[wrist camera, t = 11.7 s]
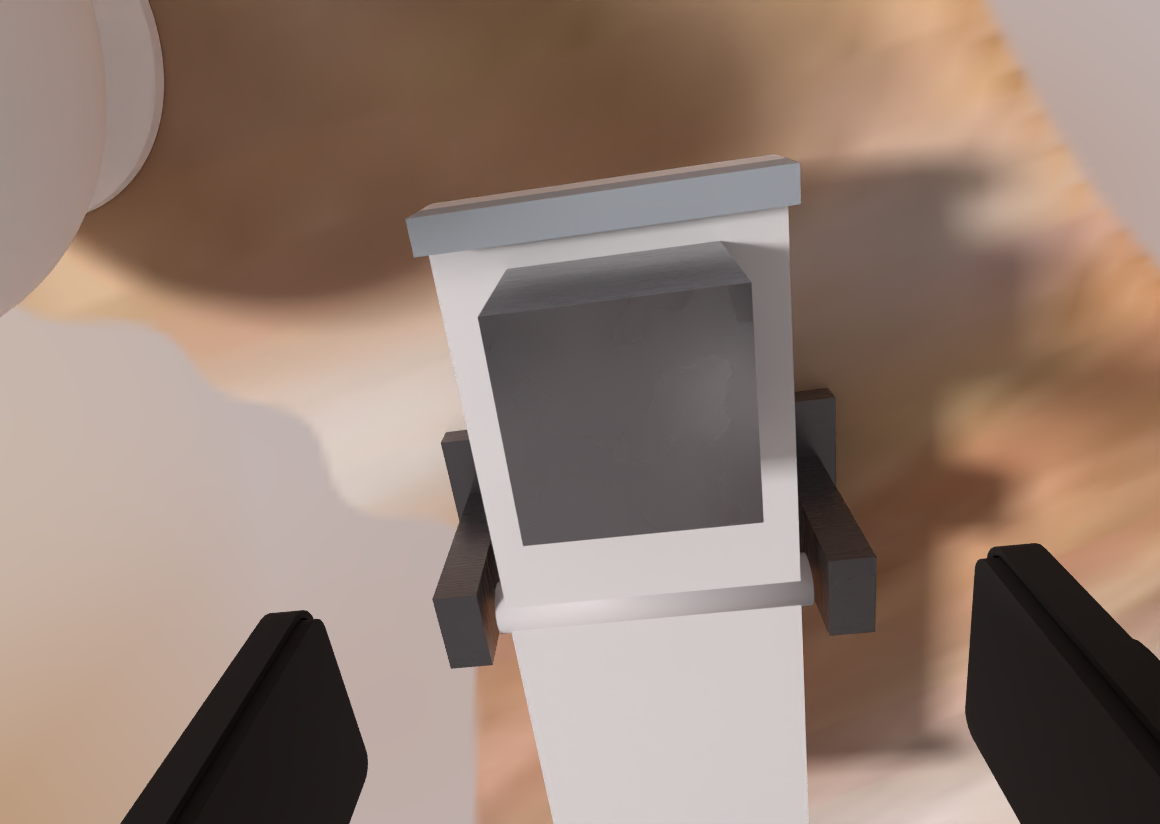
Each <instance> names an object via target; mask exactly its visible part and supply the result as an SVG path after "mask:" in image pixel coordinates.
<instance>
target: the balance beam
mask: <svg viewBox="0 0 1160 824" xmlns="http://www.w3.org/2000/svg"><path fill="white" fill-rule="evenodd" d="M799 204H801V184H800V162H797V161H794V160H791V159H788V158H785V157H782V156H779V155H777V154H771V155H764V156H757V157H750V158H743V159H736V160H729V161H722V162H716V163H709V164H702V165H695V166H688V167H681V168H674V169H667V170H660V171H653V172H646V173H639V174H633V175H626V176H619V177H612V178H605V179H598V180H591V181H584V182H577V183H570V184H563V185H556V186H549V187H543V188H536V189H529V190H522V191H515V192H508V193H501V194H494V195H487V196H480V197H473V198H466V199H459V200H453V201H446V202H439V203H432V204H429V205H428V206H426V207H424V208H423V209H421V210H419V211H418V212H416V213H414V214H413V215H411V216H409V217H408V218H406V219H405V221H406V225H407V229H408V234H409V238H410V243H411V247H412V251H413V256H414V258H415V257H422V256H429V259H430V263H431V268H432V273H433V277H434V282H435V286H436V291H437V295H438V300H439V304H440V309H441V313H442V318H443V323H444V327H445V332H446V336H447V341H448V345H449V350H450V354H451V359H452V363H453V368H454V373H455V377H456V382H457V386H458V391H459V395H460V400H461V404H462V409H463V413H464V418H465V423H466V427H467V432H468V436H469V441H470V445H471V450H472V454H473V459H474V463H475V468H476V473H477V477H478V482H479V486H480V491H481V495H482V500H483V504H484V509H485V513H486V518H487V523H488V527H489V532H490V536H491V541H492V545H493V550H494V554H495V559H496V563H497V568H498V573H499V577H500V582H498V583H497V585H496V589H495V614H496V621H497V626H498V629H499V631H500V633H501V634H504V633H512V636H513V641H514V645H515V650H516V654H517V659H518V663H519V668H520V673H521V677H522V682H523V686H524V691H525V695H526V700H527V704H528V709H529V713H530V718H531V723H532V727H533V732H534V736H535V741H536V745H537V750H538V754H539V759H540V763H541V768H542V773H543V777H544V782H545V786H546V791H547V795H548V800H549V804H550V809H551V813H552V818H553V823H554V824H809V819H808V789H807V758H806V728H805V698H804V668H803V638H802V608H801V607H802V606H812V605H813V604H814V585H813V578H812V572H811V568H810V564H809V561H808V558H807V556H806V554H805V553H804V552H801V553H800V548H799V518H798V487H797V457H796V427H795V397H794V367H793V337H792V307H791V277H790V247H789V217H788V206H791V205H799ZM715 241H720V242H721V243H722V244H723V246H724V247H725V248H726V250H727V251H728V252H729V254H730V255H731V256H732V257H733V259H734V260H735V261H736V263H737V264H738V265H739V267H740V268H741V269H742V271H743V272H744V273H745V274H746V276H747V277H748V278H749V280H750V281H751V282H752V302H753V321H754V341H755V360H756V380H757V400H758V419H759V439H760V458H761V478H762V498H763V517H764V522H763V523H753V524H743V525H733V526H723V527H713V528H703V529H693V530H682V531H672V532H662V533H652V534H642V535H632V536H622V537H612V538H601V539H591V540H581V541H571V542H561V543H551V544H541V545H531V546H523V544H522V539H521V534H520V529H519V523H518V518H517V513H516V508H515V503H514V498H513V493H512V488H511V483H510V478H509V473H508V468H507V463H506V458H505V453H504V448H503V443H502V438H501V433H500V428H499V423H498V418H497V412H496V407H495V402H494V397H493V392H492V387H491V382H490V377H489V372H488V367H487V362H486V357H485V352H484V347H483V342H482V337H481V332H480V327H479V322H478V316H479V314H480V312H481V311H482V309H483V307H484V306H485V304H486V302H487V301H488V299H489V297H490V296H491V294H492V292H493V291H494V289H495V287H496V286H497V284H498V282H499V281H500V279H501V277H502V276H503V274H504V272H505V271H506V269H511V268H518V267H526V266H533V265H541V264H548V263H556V262H563V261H571V260H579V259H586V258H594V257H601V256H609V255H616V254H624V253H631V252H639V251H647V250H654V249H662V248H669V247H677V246H684V245H692V244H699V243H707V242H715Z"/></svg>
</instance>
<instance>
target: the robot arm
mask: <svg viewBox="0 0 1160 824" xmlns="http://www.w3.org/2000/svg"><path fill="white" fill-rule="evenodd" d="M965 713H966V720H967V724H968V728H969V730H970V733H971V735H972V738H973V740H974V741H975V743H976V745H977V747H978V749H979V750H980V752H981V754H982V756H983V757H984V759H985V761H986V763H987V765H988V766H989V768H990V770H991V772H992V773H993V775H994V777H995V779H996V781H997V782H998V784H999V786H1000V788H1001V789H1002V791H1003V793H1004V795H1005V797H1006V798H1007V800H1008V802H1009V804H1010V806H1011V807H1012V809H1013V811H1014V813H1015V814H1016V816H1017V818H1018V820H1019V822H1020V823H1021V824H1160V660H1159V659H1158V658H1157V657H1156V656H1155V655H1154V654H1153V653H1152V652H1151V651H1150V650H1149V649H1148V648H1147V647H1145V646H1144V645H1143V644H1142V643H1140V642H1139V641H1138V640H1135V639H1132V638H1131V637H1130V636H1129V634H1128V633H1127V632H1126V631H1125V630H1124V629H1123V628H1122V627H1121V626H1120V625H1119V624H1118V623H1117V622H1116V621H1115V620H1114V619H1113V618H1112V617H1111V616H1110V615H1109V614H1108V613H1107V612H1106V611H1105V610H1104V609H1103V608H1102V607H1101V605H1100V604H1099V603H1098V602H1097V601H1096V600H1095V599H1094V598H1093V597H1092V596H1091V595H1090V594H1089V593H1088V592H1087V591H1086V590H1085V589H1084V588H1083V587H1082V586H1081V585H1080V584H1079V583H1078V582H1077V581H1076V580H1075V579H1074V578H1073V576H1072V575H1071V574H1070V573H1069V572H1068V571H1067V570H1066V569H1065V568H1064V567H1063V566H1062V565H1061V564H1060V563H1059V562H1058V561H1057V560H1056V559H1055V558H1054V557H1053V556H1052V555H1051V554H1050V553H1049V552H1048V551H1047V550H1046V549H1045V548H1044V547H1043V546H1042V545H1040V544H1037V543H1031V544H1020V545H1009V546H998V547H993V548H991V549H990V551H989V553H988V556H987V558H986V559H979V560H978V561H977V563H976V566H975V576H974V590H973V605H972V619H971V634H970V648H969V662H968V677H967V691H966V706H965ZM367 769H368V759H367V752H366V749H365V746H364V743H363V740H362V737H361V734H360V731H359V728H358V724H357V721H356V718H355V716H354V713H353V709H352V707H351V704H350V700H349V697H348V695H347V691H346V688H345V685H344V683H343V680H342V676H341V673H340V670H339V667H338V664H337V661H336V658H335V655H334V652H333V649H332V646H331V643H330V640H329V637H328V634H327V631H326V628H325V626H324V624H323V622H322V621H321V620H320V619H313V617H312V615H311V614H310V613H309V612H308V611H304V610H301V611H290V612H279V613H269V614H267V615H265V616H264V617H263V618H262V619H261V620H260V622H259V623H258V625H257V626H256V628H255V629H254V631H253V632H252V633H251V635H250V636H249V638H248V639H247V641H246V642H245V644H244V645H243V647H242V648H241V649H240V651H239V652H238V654H237V655H236V657H235V658H234V660H233V661H232V662H231V664H230V665H229V667H228V668H227V670H226V671H225V673H224V674H223V676H222V677H221V678H220V680H219V681H218V683H217V684H216V686H215V687H214V689H213V690H212V691H211V693H210V694H209V696H208V697H207V699H206V700H205V702H204V703H203V705H202V706H201V707H200V709H199V710H198V712H197V713H196V715H195V716H194V718H193V719H192V721H191V722H190V724H189V725H188V727H187V728H186V729H185V731H184V732H183V734H182V735H181V736H180V738H179V740H178V741H177V742H176V744H175V745H174V747H173V748H172V750H171V751H170V752H169V754H168V755H167V757H166V758H165V760H164V761H163V763H162V764H161V765H160V767H159V768H158V770H157V771H156V773H155V774H154V776H153V777H152V779H151V780H150V781H149V783H148V784H147V786H146V787H145V789H144V790H143V792H142V793H141V795H140V796H139V798H138V799H137V800H136V802H135V803H134V805H133V806H132V808H131V809H130V810H129V812H128V813H127V815H126V816H125V818H124V819H123V821H122V822H121V824H349V823H350V820H351V817H352V815H353V812H354V809H355V806H356V804H357V801H358V798H359V796H360V793H361V790H362V788H363V785H364V782H365V779H366V775H367Z"/></svg>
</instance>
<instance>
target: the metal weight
mask: <svg viewBox="0 0 1160 824" xmlns="http://www.w3.org/2000/svg"><path fill="white" fill-rule="evenodd" d="M478 322H479V327H480V332H481V337H482V342H483V347H484V352H485V357H486V362H487V367H488V372H489V377H490V382H491V387H492V392H493V397H494V402H495V407H496V412H497V418H498V423H499V428H500V433H501V438H502V443H503V448H504V453H505V458H506V463H507V468H508V473H509V478H510V483H511V488H512V493H513V498H514V503H515V508H516V513H517V518H518V523H519V529H520V534H521V539H522V544H523V546H531V545H541V544H551V543H561V542H571V541H581V540H591V539H601V538H612V537H622V536H632V535H642V534H652V533H662V532H672V531H682V530H693V529H703V528H713V527H723V526H733V525H743V524H753V523H763V522H764V517H763V498H762V478H761V458H760V439H759V419H758V400H757V380H756V360H755V341H754V321H753V302H752V282H751V281H750V280H749V278H748V277H747V276H746V274H745V273H744V272H743V271H742V269H741V268H740V267H739V265H738V264H737V263H736V261H735V260H734V259H733V257H732V256H731V255H730V254H729V252H728V251H727V250H726V248H725V247H724V246H723V244H722V243H721V242H720V241H715V242H707V243H699V244H692V245H684V246H677V247H669V248H662V249H654V250H647V251H639V252H631V253H624V254H616V255H609V256H601V257H594V258H586V259H579V260H571V261H563V262H556V263H548V264H541V265H533V266H526V267H518V268H511V269H506V271H505V272H504V274H503V276H502V277H501V279H500V281H499V282H498V284H497V286H496V287H495V289H494V291H493V292H492V294H491V296H490V297H489V299H488V301H487V302H486V304H485V306H484V307H483V309H482V311H481V312H480V314H479V316H478Z"/></svg>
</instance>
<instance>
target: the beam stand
mask: <svg viewBox="0 0 1160 824" xmlns="http://www.w3.org/2000/svg"><path fill="white" fill-rule="evenodd" d="M794 397H795V427H796V457H797V487H798V518H799V548H800V553H801V552H804V553H805V554H806V556H807V558H808V561H809V564H810V568H811V572H812V578H813V585H814V599H815V601H816V604H817V606H818V609H819V611H820V614H821V616H822V619H823V621H824V623H825V626H826V628H827V631H828V633H829V636H831V635H842V634H854V633H865V632H875V601H876V556H875V554H874V552H873V550H872V549H871V547H870V545H869V543H868V542H867V540H866V538H865V537H864V535H863V533H862V531H861V530H860V528H859V526H858V524H857V523H856V521H855V519H854V517H853V516H852V514H851V512H850V510H849V509H848V507H847V505H846V503H845V502H844V500H843V498H842V496H841V495H840V493H839V491H838V490H837V488H836V445H835V397H834V395H833V394H832V393H831V391H830V390H829V389H828V388H826V389H818V390H809V391H801V392H794ZM441 445H442V449H443V454H444V458H445V462H446V466H447V470H448V475H449V479H450V483H451V487H452V491H453V496H454V500H455V504H456V508H457V512H458V517H459V521H460V522H459V525H458V528H457V531H456V533H455V536H454V539H453V542H452V545H451V548H450V551H449V554H448V557H447V559H446V562H445V565H444V568H443V571H442V574H441V576H440V579H439V582H438V586H437V588H436V591H435V594H434V597H433V603H434V607H435V611H436V614H437V618H438V622H439V625H440V629H441V633H442V637H443V640H444V644H445V648H446V652H447V655H448V659H449V663H450V667H451V668H462V667H475V666H486V665H493V661H494V656H495V651H496V646H497V641H498V636H499V629H498V626H497V621H496V614H495V589H496V585H497V583H498V582H500V577H499V573H498V568H497V563H496V559H495V554H494V550H493V545H492V541H491V536H490V532H489V527H488V523H487V518H486V513H485V509H484V504H483V500H482V495H481V491H480V486H479V482H478V477H477V473H476V468H475V463H474V459H473V454H472V450H471V445H470V441H469V436H468V432H467V430H465V431H456V432H447V433H445V435H444V438H443V440H442V442H441Z"/></svg>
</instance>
